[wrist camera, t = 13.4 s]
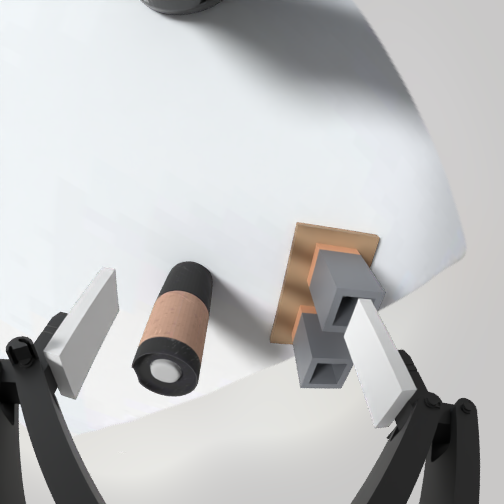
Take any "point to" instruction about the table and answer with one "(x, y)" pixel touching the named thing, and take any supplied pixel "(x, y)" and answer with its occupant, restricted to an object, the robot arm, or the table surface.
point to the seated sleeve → (340, 285)
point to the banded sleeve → (319, 352)
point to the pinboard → (299, 267)
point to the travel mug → (176, 332)
